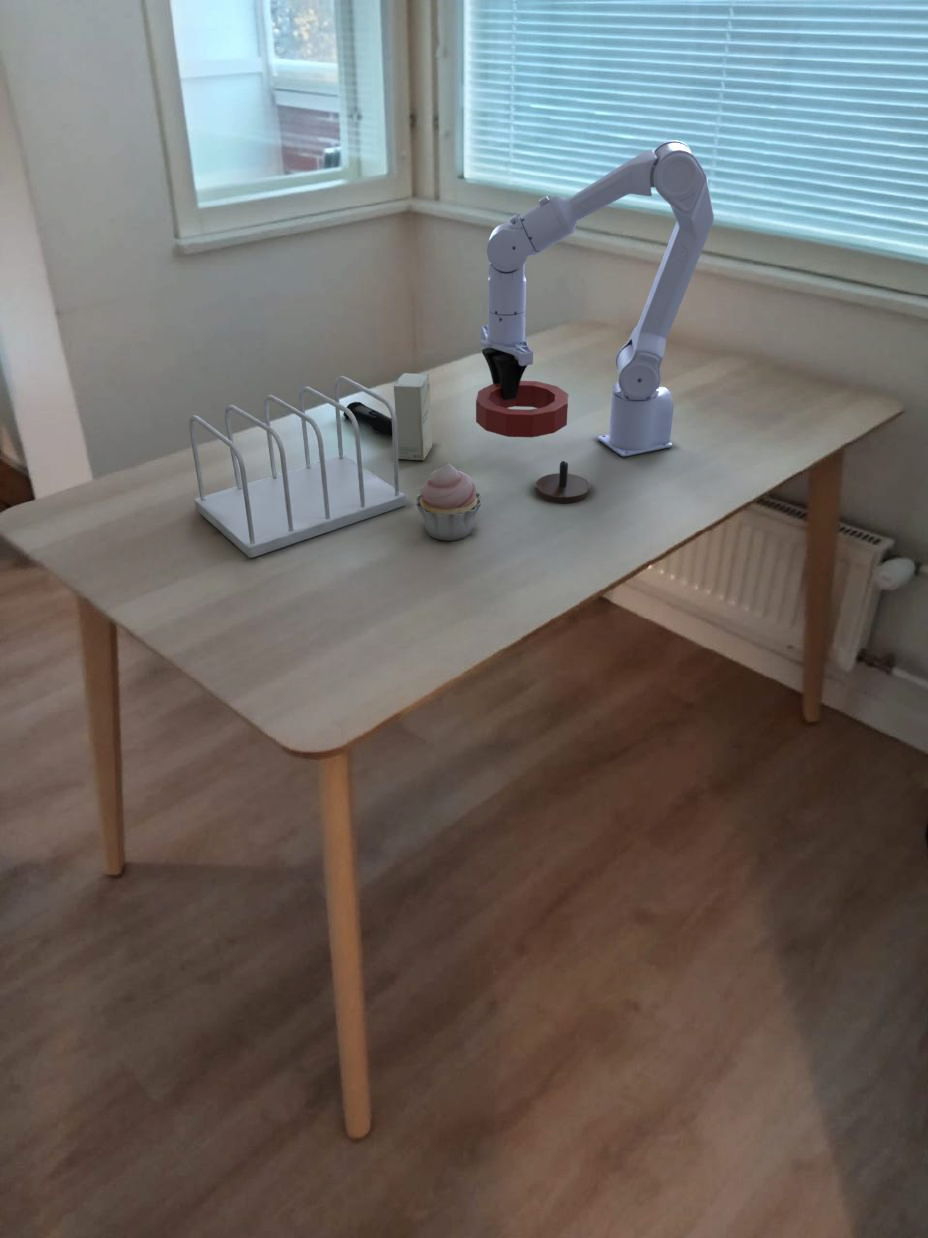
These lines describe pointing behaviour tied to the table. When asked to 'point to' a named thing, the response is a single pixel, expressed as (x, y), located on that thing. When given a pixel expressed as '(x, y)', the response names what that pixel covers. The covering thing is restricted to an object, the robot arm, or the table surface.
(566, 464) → the peg stand
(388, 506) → the file sorter
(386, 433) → the electric trimmer
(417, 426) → the cosmetic box
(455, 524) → the cupcake
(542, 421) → the ring
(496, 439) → the table surface
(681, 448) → the table surface
